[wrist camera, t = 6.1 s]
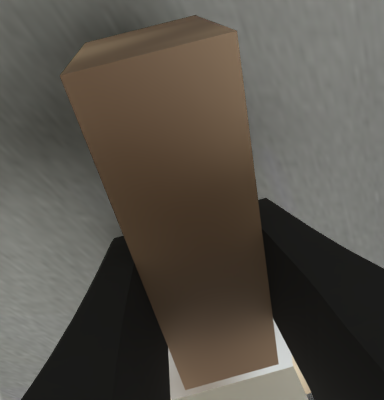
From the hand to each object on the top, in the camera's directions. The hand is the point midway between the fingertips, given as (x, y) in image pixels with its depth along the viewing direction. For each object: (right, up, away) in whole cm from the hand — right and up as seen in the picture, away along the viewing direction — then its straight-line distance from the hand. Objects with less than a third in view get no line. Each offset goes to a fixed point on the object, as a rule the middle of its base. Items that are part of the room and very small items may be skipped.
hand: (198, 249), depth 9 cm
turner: (0, 0, +3) cm, 3 cm away
